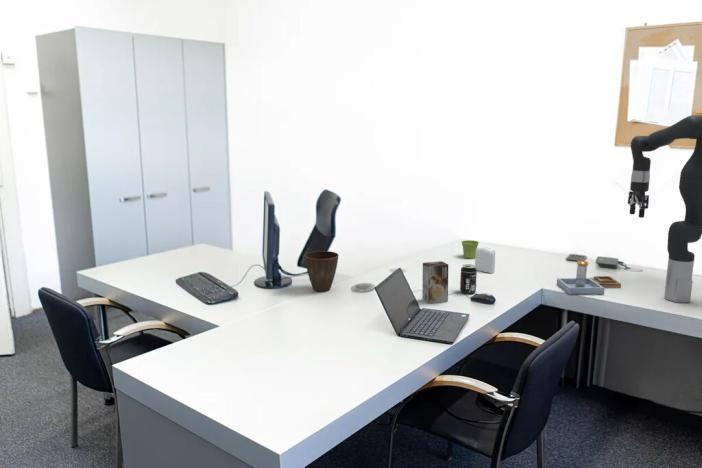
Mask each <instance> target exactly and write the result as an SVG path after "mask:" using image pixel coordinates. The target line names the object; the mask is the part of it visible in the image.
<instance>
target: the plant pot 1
mask: <svg viewBox="0 0 702 468" xmlns="http://www.w3.org/2000/svg"><path fill="white" fill-rule="evenodd" d="M304 261H305V262H304V263H305V266H306V271H307V275H308V278H309V279H308V280H309V281H310V284H311V287H312V291H314V292H317V293H318V292H319V293H326V292H329V291H330V290H331V288H332V285H333V282H334V281H335V280H334V279H335V277H336V276H335V275H336V272H337V268H338V261H339V253H337V252H335V251H330V250H315V251H310V252H307V253H305V254H304Z"/></svg>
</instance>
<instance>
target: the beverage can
mask: <svg viewBox="0 0 702 468" xmlns="http://www.w3.org/2000/svg"><path fill="white" fill-rule="evenodd" d="M477 271H478V270H477V269H476V268H475V264H472V263H465V264H462V266H461V268H460V282H459V286H460V287H459V291H461V292H462V294H467V295H471V294H474V293H476V292H477V278H478V277H477V275H478V273H477Z"/></svg>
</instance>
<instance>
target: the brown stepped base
mask: <svg viewBox="0 0 702 468" xmlns="http://www.w3.org/2000/svg"><path fill="white" fill-rule="evenodd" d="M588 278H591V279H592V280H594V281H595V282H597V283H598V284H599V285H601V286H602V287H604V288H605V289H621V288H622V287H621V286H622V283H621V282H619V281H618V280H616V279H614V278H613V277H611V276H610V275H595V276H591V277H588Z"/></svg>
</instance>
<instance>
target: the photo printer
mask: <svg viewBox="0 0 702 468" xmlns="http://www.w3.org/2000/svg"><path fill="white" fill-rule="evenodd" d="M474 265H475V268H476V269H477V271H479V272H483V273H484V272H485V273H489V274H493V273H494V272H495V271H496V270H495V267H496V251H495V249H493V248H492V247H489V246H483V245H482V246H481V245H480V246H477V248H476V254H475V258H474Z"/></svg>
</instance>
